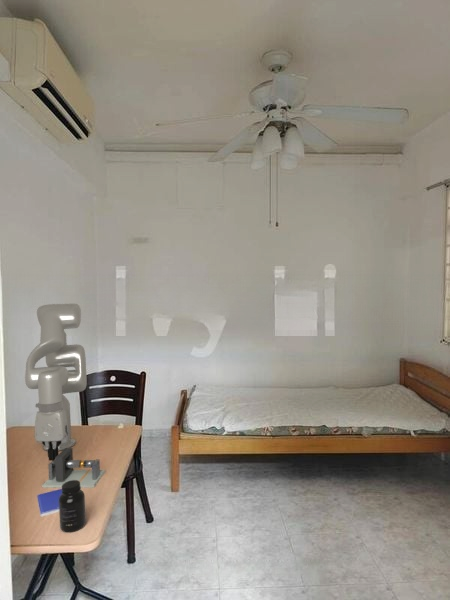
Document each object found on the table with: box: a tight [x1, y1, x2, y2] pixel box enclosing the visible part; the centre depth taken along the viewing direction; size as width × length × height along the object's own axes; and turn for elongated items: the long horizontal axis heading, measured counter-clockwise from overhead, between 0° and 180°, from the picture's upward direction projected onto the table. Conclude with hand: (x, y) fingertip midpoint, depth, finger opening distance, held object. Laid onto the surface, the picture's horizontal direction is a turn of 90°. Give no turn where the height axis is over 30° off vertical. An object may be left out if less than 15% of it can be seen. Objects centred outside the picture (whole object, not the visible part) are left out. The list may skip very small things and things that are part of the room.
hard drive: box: [36, 488, 62, 518], centre depth 126 cm, size 2×8×12 cm
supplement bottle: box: [58, 480, 87, 533], centre depth 113 cm, size 7×7×12 cm
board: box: [41, 469, 106, 489], centre depth 141 cm, size 18×11×1 cm, turn 87°
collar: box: [55, 447, 74, 481], centre depth 141 cm, size 2×8×8 cm, turn 177°
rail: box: [47, 458, 101, 480], centre depth 140 cm, size 16×4×6 cm, turn 87°
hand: (53, 458), depth 141 cm, fingers closed
